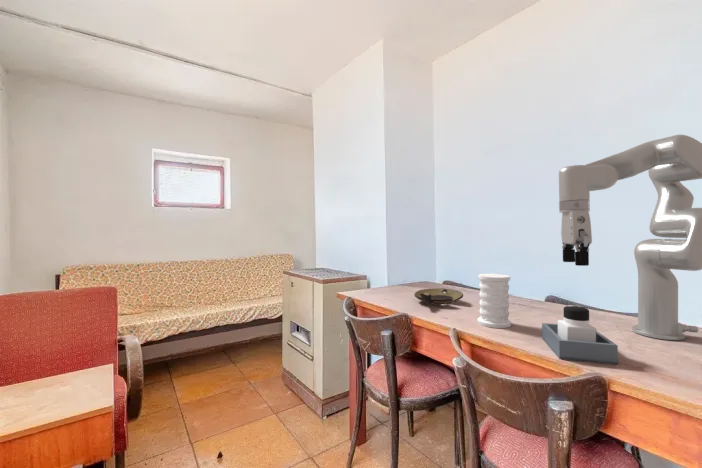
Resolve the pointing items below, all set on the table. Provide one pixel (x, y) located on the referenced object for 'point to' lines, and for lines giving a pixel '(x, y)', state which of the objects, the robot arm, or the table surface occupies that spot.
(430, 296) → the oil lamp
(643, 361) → the table surface
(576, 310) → the medicine bottle
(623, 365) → the table surface
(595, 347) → the bin
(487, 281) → the decorative container
